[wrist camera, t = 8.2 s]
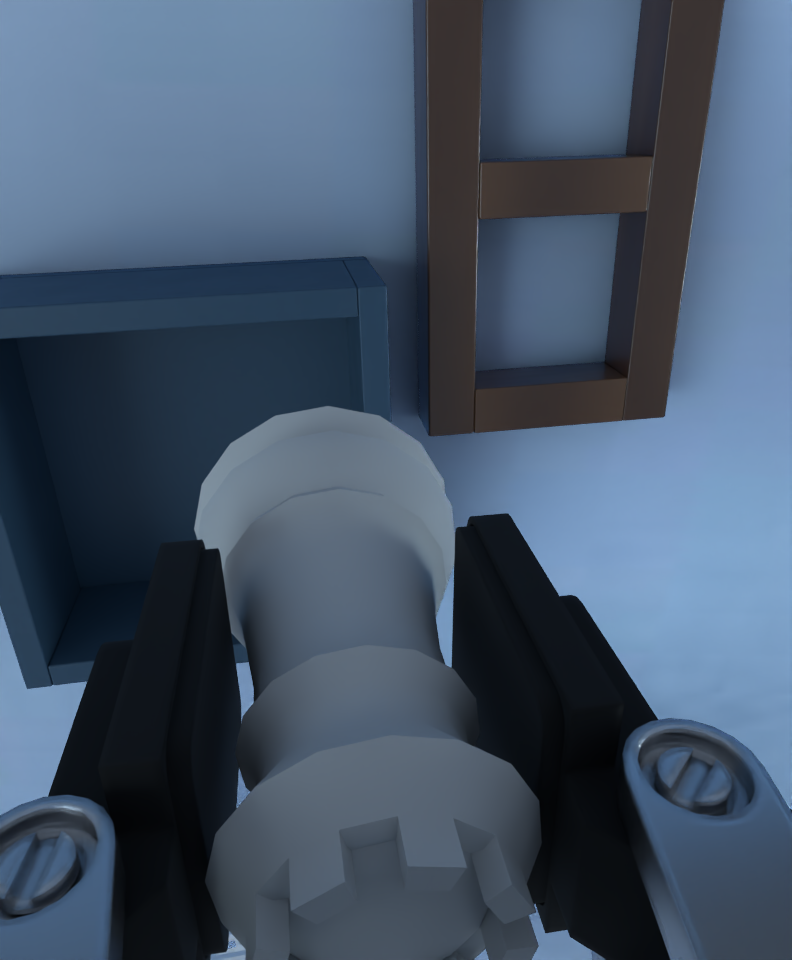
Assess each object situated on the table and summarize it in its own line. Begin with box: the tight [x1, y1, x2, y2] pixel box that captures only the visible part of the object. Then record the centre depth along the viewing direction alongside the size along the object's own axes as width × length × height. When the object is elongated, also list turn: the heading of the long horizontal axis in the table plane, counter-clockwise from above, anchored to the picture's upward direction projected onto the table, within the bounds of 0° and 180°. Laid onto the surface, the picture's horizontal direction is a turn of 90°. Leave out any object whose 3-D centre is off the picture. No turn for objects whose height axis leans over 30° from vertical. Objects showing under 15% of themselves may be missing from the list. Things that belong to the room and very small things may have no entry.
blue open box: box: [0, 257, 391, 689], centre depth 23 cm, size 12×12×5 cm
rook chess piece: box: [194, 406, 542, 960], centre depth 10 cm, size 4×4×8 cm
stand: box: [413, 0, 725, 436], centre depth 23 cm, size 9×16×2 cm, turn 1°
